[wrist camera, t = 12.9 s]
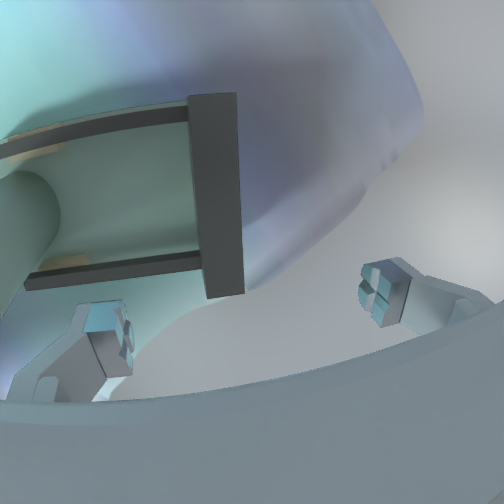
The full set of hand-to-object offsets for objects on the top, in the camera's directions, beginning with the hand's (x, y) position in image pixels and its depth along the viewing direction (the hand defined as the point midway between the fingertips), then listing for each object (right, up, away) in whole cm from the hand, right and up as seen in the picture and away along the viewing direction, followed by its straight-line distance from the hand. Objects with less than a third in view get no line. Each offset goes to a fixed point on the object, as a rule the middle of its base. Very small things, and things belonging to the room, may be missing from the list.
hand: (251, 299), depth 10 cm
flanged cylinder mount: (-12, +7, +14) cm, 19 cm away
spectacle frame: (-10, +5, +9) cm, 14 cm away
